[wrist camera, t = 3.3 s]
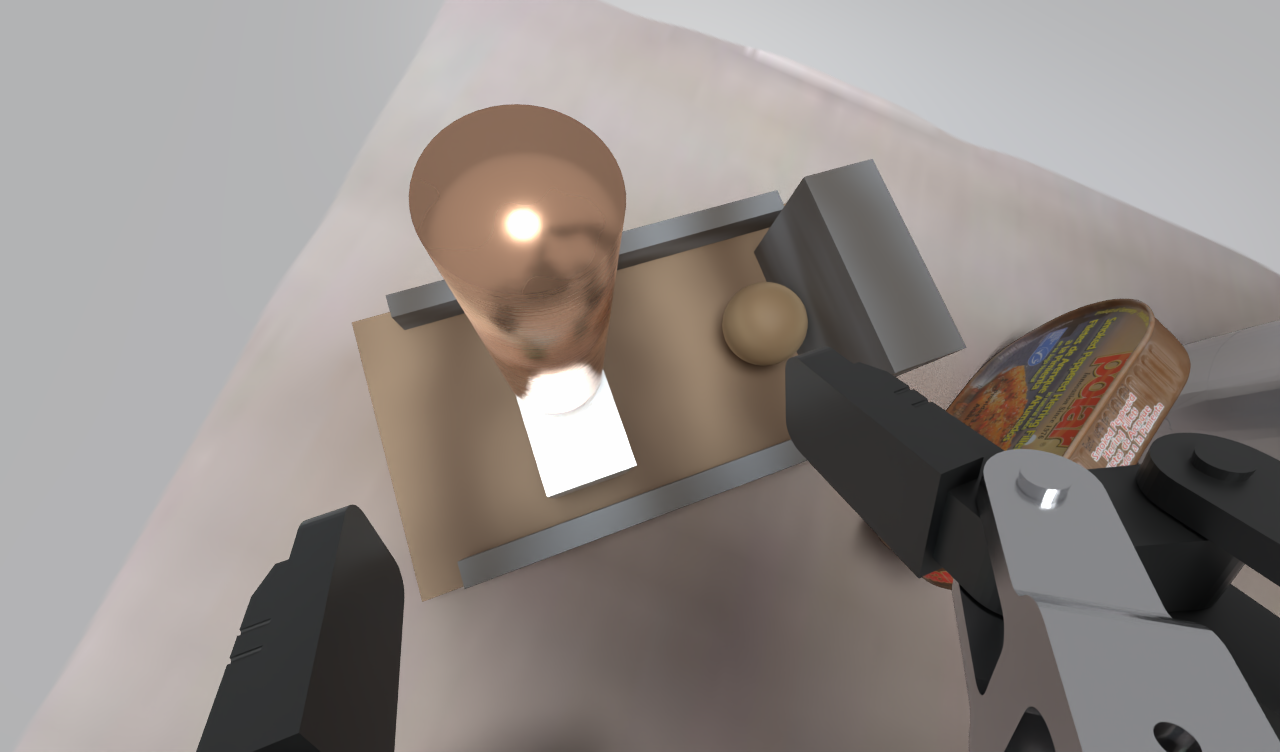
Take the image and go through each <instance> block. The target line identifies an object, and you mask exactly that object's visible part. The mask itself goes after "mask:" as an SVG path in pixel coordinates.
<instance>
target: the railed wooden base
mask: <svg viewBox="0 0 1280 752" xmlns="http://www.w3.org/2000/svg"><path fill="white" fill-rule="evenodd" d="M759 282H773V283H778V284H781V285H783V286H785V287H787V288H789V289H790V290H792V291H793V292H794V293H795V294H796V295H797V296H798V297H799V298H800V300H801V301H802V303H803V304H804V306H805V309H806V313H807V318H808V328H807V333H806V336H805V339H804V341H803V343H802V345H801V346H800V348H799V349H798V350H797V351H796V352H795V353H794V354H793V355H792V356H791V357H794V356H797V355H800V354H803V353H806V352H809V351H812V350H815V349H818V348H821V347H824V346H827V347H830V348H832V349H834V350H835V351H836V352H838V353H839V354H841V355H842V356H843V357H845V358H846V359H848V360H849V361H850V362H852V363H853V364H854V363H857V362H861V363H864V364H867V365H870V366H872V367H875V368H878V369H881V370H884V371H887V372H889V373H890V374H892V375H893V376H895V377H896V376H899V375H901V374H904V373H906V372H908V371H911V370H913V369H916V368H918V367H921V366H923V365H925V364H928V363H930V362H933V361H935V360H938V359H940V358H942V357H945V356H947V355H950V354H952V353H955V352H957V351H959V350H962V349H964V348H966V346H965V344H964V342H963V340H962V338H961V336H960V334H959V332H958V330H957V328H956V326H955V324H954V322H953V319H952V317H951V315H950V313H949V311H948V309H947V307H946V305H945V303H944V301H943V299H942V297H941V295H940V293H939V291H938V289H937V287H936V285H935V283H934V281H933V279H932V277H931V275H930V273H929V271H928V269H927V267H926V265H925V263H924V261H923V259H922V257H921V255H920V253H919V251H918V249H917V247H916V245H915V243H914V241H913V239H912V237H911V235H910V233H909V231H908V229H907V227H906V225H905V223H904V221H903V219H902V217H901V215H900V213H899V211H898V209H897V207H896V205H895V203H894V201H893V199H892V197H891V195H890V193H889V191H888V189H887V187H886V185H885V183H884V181H883V179H882V177H881V175H880V173H879V171H878V169H877V167H876V165H875V163H874V161H873V159H870V160H866V161H862V162H859V163H855V164H851V165H847V166H844V167H840V168H836V169H832V170H829V171H825V172H821V173H817V174H814V175H810V176H806V177H804V178H803V179H802V181H801V182H800V184H799V185H798V187H797V188H796V190H795V191H794V193H793V194H792V196H791V197H790V199H789V200H788V202H787V203H786V204H783V202H782V200H781V198H780V195H779V193H778V191H777V190H776V191H773V192H769V193H765V194H761V195H758V196H754V197H750V198H747V199H743V200H739V201H735V202H732V203H728V204H724V205H721V206H717V207H713V208H709V209H706V210H702V211H698V212H694V213H691V214H687V215H683V216H680V217H676V218H672V219H668V220H665V221H661V222H657V223H654V224H650V225H646V226H642V227H639V228H635V229H631V230H627V231H624V232H622V237H621V244H620V251H619V258H618V265H617V272H616V279H615V286H614V293H613V300H612V307H611V314H610V321H609V328H608V335H607V342H606V349H605V356H604V363H603V370H604V373H605V376H606V379H607V382H608V385H609V388H610V390H611V393H612V396H613V399H614V402H615V405H616V408H617V411H618V413H619V416H620V419H621V422H622V425H623V428H624V431H625V434H626V436H627V439H628V442H629V445H630V448H631V451H632V454H633V457H634V459H635V462H636V466H635V467H633V468H632V469H631V470H629V471H628V472H627V473H625V474H624V475H621V476H618V477H615V478H612V479H609V480H607V481H604V482H601V483H598V484H595V485H593V486H590V487H587V488H584V489H581V490H579V491H576V492H573V493H570V494H567V495H565V496H562V497H559V498H556V499H555V498H550V497H547V494H546V491H545V488H544V484H543V481H542V478H541V475H540V471H539V468H538V465H537V462H536V459H535V455H534V452H533V449H532V446H531V442H530V439H529V436H528V433H527V429H526V426H525V423H524V420H523V417H522V413H521V410H520V407H519V404H518V400H517V397H516V395H515V393H514V392H513V390H512V389H511V387H510V385H509V384H508V382H507V381H506V379H505V377H504V376H503V374H502V372H501V371H500V369H499V368H498V366H497V364H496V363H495V361H494V359H493V358H492V356H491V355H490V353H489V351H488V350H487V348H486V346H485V345H484V343H483V342H482V340H481V338H480V337H479V335H478V333H477V332H476V330H475V329H474V327H473V325H472V324H471V322H470V320H469V319H468V317H467V316H466V314H465V312H464V311H463V309H462V307H461V306H460V304H459V303H458V301H457V299H456V298H455V296H454V294H453V293H452V291H451V290H450V288H449V286H448V285H447V283H446V281H445V280H441V281H438V282H434V283H430V284H426V285H423V286H419V287H415V288H411V289H408V290H404V291H400V292H397V293H393V294H389V295H386V298H387V302H388V306H389V310H390V312H388V313H385V314H381V315H377V316H374V317H370V318H367V319H363V320H359V321H356V322H352V325H353V329H354V333H355V337H356V341H357V345H358V349H359V353H360V357H361V361H362V365H363V369H364V373H365V377H366V381H367V385H368V389H369V393H370V396H371V400H372V404H373V408H374V412H375V416H376V420H377V424H378V428H379V432H380V436H381V440H382V444H383V448H384V452H385V456H386V460H387V464H388V468H389V472H390V476H391V480H392V484H393V488H394V492H395V496H396V500H397V504H398V508H399V512H400V516H401V520H402V524H403V527H404V531H405V535H406V539H407V543H408V547H409V551H410V555H411V559H412V563H413V567H414V571H415V575H416V579H417V583H418V587H419V591H420V595H421V599H422V602H423V601H426V600H429V599H431V598H434V597H437V596H439V595H442V594H445V593H447V592H450V591H453V590H455V589H458V588H461V587H463V586H464V589H466V588H469V587H471V586H474V585H477V584H479V583H482V582H485V581H487V580H490V579H493V578H495V577H498V576H501V575H503V574H506V573H509V572H511V571H514V570H517V569H519V568H522V567H525V566H527V565H530V564H532V563H535V562H538V561H540V560H543V559H546V558H548V557H551V556H554V555H556V554H559V553H562V552H564V551H567V550H570V549H572V548H575V547H578V546H580V545H583V544H586V543H588V542H591V541H594V540H596V539H599V538H602V537H604V536H607V535H610V534H612V533H615V532H618V531H620V530H623V529H626V528H628V527H631V526H634V525H636V524H639V523H642V522H644V521H647V520H650V519H652V518H655V517H658V516H660V515H663V514H666V513H668V512H671V511H674V510H676V509H679V508H682V507H684V506H687V505H690V504H692V503H695V502H698V501H700V500H703V499H706V498H708V497H711V496H713V495H716V494H719V493H721V492H724V491H727V490H729V489H732V488H735V487H737V486H740V485H743V484H745V483H748V482H751V481H753V480H756V479H759V478H761V477H764V476H767V475H769V474H772V473H775V472H777V471H780V470H783V469H785V468H788V467H791V466H793V465H796V464H799V463H801V462H804V461H807V459H806V458H805V457H804V456H803V455H802V454H801V453H800V452H799V451H798V449H797V448H796V447H795V445H794V444H793V442H792V440H791V438H790V435H789V433H788V430H787V425H786V397H785V366H786V362H787V360H788V359H789V358H788V359H786V360H785V361H783V362H780V363H777V364H774V365H767V366H761V365H755V364H751V363H748V362H746V361H744V360H742V359H740V358H739V357H738V356H736V355H735V354H734V353H733V352H732V350H731V349H730V348H729V346H728V345H727V343H726V341H725V338H724V334H723V329H722V321H723V315H724V311H725V309H726V307H727V305H728V303H729V301H730V300H731V299H732V297H733V296H734V295H735V294H736V293H737V292H739V291H740V290H741V289H743V288H745V287H747V286H749V285H751V284H755V283H759ZM791 357H790V358H791Z"/></svg>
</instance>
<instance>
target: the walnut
mask: <svg viewBox="0 0 1280 752" xmlns="http://www.w3.org/2000/svg"><path fill="white" fill-rule="evenodd" d="M807 328H808V318H807V313H806V309H805V306H804V304H803V303H802V301H801V300H800V298H799V297H798V296H797V295H796V294H795V293H794V292H793V291H792V290H790V289H789V288H787V287H785V286H783V285H781V284H778V283H773V282H759V283H755V284H751V285H749V286H747V287H745V288H743V289H741V290H740V291H739V292H737V293H736V294H735V295H734V296H733V297H732V299H731V300H730V301H729V303H728V305H727V307H726V309H725V311H724V315H723V321H722V329H723V334H724V338H725V341H726V343H727V345H728V346H729V348H730V349H731V350H732V352H733V353H734V354H735V355H736V356H738V357H739V358H740V359H742V360H744V361H746V362H748V363H751V364H755V365H761V366H767V365H774V364H777V363H780V362H783V361H785V360H786V359H788V358H790V357H791V356H792V355H793V354H794V353H795V352H796V351H797V350H798V349H799V348H800V346H801V345H802V343H803V341H804V339H805V336H806V333H807Z"/></svg>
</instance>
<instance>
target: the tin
mask: <svg viewBox="0 0 1280 752" xmlns="http://www.w3.org/2000/svg"><path fill="white" fill-rule="evenodd" d="M1190 368H1191V363H1190V358H1189V355H1188V353H1187V351H1186V349H1185V348H1184V347H1183V345H1182V344H1181V343H1180V342H1179V341H1178V340H1177V339H1176V337H1175V336H1174V335H1173V334H1172V333H1171V332H1170V331H1169V330H1167V329H1166V328H1165V327H1164V326H1163V325H1162V324H1161V323H1160V322H1159V321H1158V320H1157V319H1156V318H1155V317H1154V314H1153V312H1152V310H1151V309H1150V307H1149V306H1148V305H1146V304H1145V303H1143V302H1141V301H1139V300H1134V299H1112V300H1106V301H1102V302H1097V303H1094V304H1090V305H1087V306H1084V307H1080V308H1078V309H1076V310H1073V311H1070V312H1068V313H1066V314H1063V315H1061V316H1059V317H1057V318H1055V319H1053V320H1051V321H1049V322H1047V323H1045V324H1043V325H1041V326H1040V327H1038V328H1036V329H1034V330H1032V331H1031V332H1029V333H1027V334H1026V335H1024V336H1023V337H1021V338H1019V339H1018V340H1016V341H1015V342H1013V343H1011V344H1010V345H1008V346H1007V347H1006V348H1004V349H1003V350H1002V351H1000V352H999V353H998V354H997V355H995V356H994V357H993V358H992V359H991V360H989V361H988V362H987V363H986V364H985V365H984V366H983V367H982V368H981V369H980V370H979V371H978V372H977V373H976V374H975V375H974V376H973V378H972V379H971V380H970V381H969V382H968V384H967V385H966V386H965V387H964V389H963V390H962V391H961V392H960V394H959V395H958V396H957V398H956V399H955V400H954V401H953V403H952V404H951V405H950V407H949V408H948V409H947V410H946V412H948V413H949V414H951V415H952V416H954V417H955V418H957V419H958V420H960V421H961V422H963V423H964V424H966V425H967V426H969V427H970V428H972V429H973V430H975V431H976V432H978V433H979V434H981V435H982V436H983V437H985V438H986V439H988V440H989V441H991V442H992V443H994V444H995V445H997V446H998V447H1000V448H1001V449H1003V450H1005V451H1007V450H1013V449H1032V450H1040V451H1044V452H1049V453H1053V454H1056V455H1059V456H1062V457H1064V458H1067V459H1069V460H1071V461H1073V462H1075V463H1077V464H1079V465H1081V466H1082V467H1084V468H1085V469H1096V468H1106V467H1117V466H1127V465H1136V464H1137V463H1138V461H1139V459H1140V458H1141V456H1142V454H1143V453H1144V451H1145V449H1146V448H1147V446H1148V445H1149V443H1150V442H1151V440H1152V438H1153V437H1154V435H1155V434H1156V432H1157V430H1158V429H1159V427H1160V426H1161V424H1162V422H1163V421H1164V419H1165V418H1166V416H1167V415H1168V413H1169V411H1170V409H1171V408H1172V406H1173V405H1174V403H1175V402H1176V400H1177V399H1178V397H1179V395H1180V393H1181V392H1182V390H1183V388H1184V386H1185V385H1186V383H1187V380H1188V378H1189V374H1190ZM879 538H880V537H879ZM880 540H881V541H882V542H883V543H884V544H885V545H886V546H887V547H888V548H890V547H889V546H888V545H887V544H886V543H885V542H884V541H883V540H882V539H881V538H880ZM890 549H891V548H890ZM891 550H892V549H891ZM922 578H924V579H925V580H926V581H928V582H930V583H931V584H933V585H936V586H938V587H941V588H945V589H949V590H952V583H953V579H954V578H953V577H952V576H951V575H950V574H949V573H948V572H947V571H946V570H945V569H944V568H941V569H939V570H936V571H934V572H932V573H930V574H927V575H925V576H923V577H922Z"/></svg>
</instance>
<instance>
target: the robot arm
mask: <svg viewBox="0 0 1280 752" xmlns="http://www.w3.org/2000/svg"><path fill="white" fill-rule="evenodd" d="M1183 347H1184V348H1185V349H1186V351H1187V353H1188V355H1189V358H1190V363H1191V368H1190V374H1189V378H1188V380H1187V383H1186V385H1185V386H1184V388H1183V390H1182V392H1181V393H1180V395H1179V397H1178V399H1177V400H1176V402H1175V403H1174V405H1173V406H1172V408H1171V409H1170V411H1169V413H1168V415H1167V416H1166V418H1165V419H1164V421H1163V422H1162V424H1161V426H1160V427H1159V429H1158V430H1157V432H1156V434H1155V435H1154V437H1153V438H1152V440H1151V442H1150V443H1149V445H1148V446H1147V448H1146V449H1145V451H1144V453H1143V454H1142V456H1141V458H1140V459H1139V461H1138V463H1139V464H1138V465H1127V466H1117V467H1106V468H1096V469H1085V468H1084V467H1082V466H1081V465H1079V464H1077V463H1075V462H1073V461H1071V460H1069V459H1067V458H1064V457H1062V456H1059V455H1056V454H1053V453H1049V452H1044V451H1040V450H1032V449H1013V450H1007V451H1005V450H1003V449H1001V448H1000V447H998V446H997V445H995V444H994V443H992V442H991V441H989V440H988V439H986V438H985V437H983V436H982V435H981V434H979V433H978V432H976V431H975V430H973V429H972V428H970V427H969V426H967V425H966V424H964V423H963V422H961V421H960V420H958V419H957V418H955V417H954V416H952V415H951V414H949V413H948V412H946V411H945V410H943V409H942V408H941V407H939V406H938V405H936V404H935V403H933V402H930V403H929V402H928V400H927V398H926V397H924V396H923V395H921V394H920V393H918V392H917V391H915V390H914V389H913V390H910V389H909V386H908V385H906V384H905V383H903V382H902V381H900V380H899V379H898V378H896V377H895V376H893V375H892V374H890V373H889V372H887V371H884V370H881V369H878V368H875V367H872V366H870V365H867V364H864V363H861V362H857V363H854V364H853V363H852V362H850V361H849V360H848V359H846V358H845V357H843V356H842V355H841V354H839V353H838V352H836V351H835V350H834V349H832V348H830V347H827V346H824V347H821V348H818V349H815V350H812V351H809V352H806V353H803V354H800V355H797V356H794V357H791V358H789V359H788V360H787V362H786V366H785V397H786V425H787V430H788V433H789V435H790V438H791V440H792V442H793V444H794V445H795V447H796V448H797V449H798V451H799V452H800V453H801V454H802V455H803V456H804V457H805V458H806V459H807V460H808V461H809V462H810V463H811V465H812V466H813V467H814V468H815V469H816V470H817V471H818V472H819V473H820V474H821V475H822V476H823V477H824V478H825V479H826V480H827V482H828V483H829V484H830V485H831V486H832V487H833V488H834V489H835V490H836V491H837V492H838V493H839V494H840V495H841V496H842V497H843V498H844V500H845V501H846V502H847V503H848V504H849V505H850V506H851V507H852V508H853V509H854V510H855V511H856V512H857V513H858V514H859V515H860V517H861V518H862V519H863V520H864V521H865V522H866V523H867V524H868V525H869V526H870V527H871V528H872V529H873V530H874V531H875V532H876V534H877V535H878V536H879V537H880V538H881V539H882V540H883V541H884V542H885V543H886V544H887V545H888V546H889V547H890V548H891V549H892V550H893V552H894V553H895V554H896V555H897V556H898V557H899V558H900V559H901V560H902V561H903V562H904V563H905V564H906V565H907V566H908V567H909V569H910V570H911V571H912V572H913V573H914V574H915V575H916V576H917V577H918V578H921V577H923V576H925V575H927V574H930V573H932V572H934V571H936V570H939V569H941V568H944V569H945V570H946V571H947V572H948V573H949V574H950V575H951V576H952V577H953V578H954V579H953V583H952V596H953V602H954V608H955V615H956V621H957V627H958V634H959V640H960V646H961V653H962V659H963V665H964V671H965V678H966V684H967V690H968V697H969V705H970V728H969V752H1280V618H1279V617H1278V616H1276V615H1275V614H1273V613H1272V612H1270V611H1269V610H1268V609H1266V608H1265V607H1263V606H1262V605H1260V604H1259V603H1257V602H1256V601H1255V600H1253V599H1252V598H1250V597H1249V596H1247V595H1246V594H1244V593H1243V592H1242V591H1240V590H1239V589H1237V588H1236V587H1234V586H1233V585H1231V584H1230V583H1231V582H1232V581H1233V579H1234V578H1235V577H1236V575H1237V574H1238V573H1239V571H1240V570H1241V569H1242V567H1243V566H1244V565H1245V564H1246V565H1248V566H1249V567H1251V568H1252V569H1254V570H1255V571H1257V572H1258V573H1260V574H1261V575H1263V576H1264V577H1266V578H1268V579H1269V580H1271V581H1272V582H1274V583H1275V584H1277V585H1278V586H1280V320H1277V321H1273V322H1270V323H1266V324H1262V325H1258V326H1254V327H1250V328H1246V329H1242V330H1238V331H1235V332H1231V333H1227V334H1223V335H1220V336H1216V337H1212V338H1208V339H1205V340H1201V341H1197V342H1193V343H1190V344H1186V345H1183ZM403 610H404V585H403V580H402V576H401V573H400V570H399V567H398V565H397V563H396V561H395V559H394V558H393V556H392V555H391V553H390V552H389V550H388V549H387V547H386V546H385V544H384V543H383V541H382V540H381V538H380V537H379V535H378V534H377V532H376V531H375V529H374V528H373V526H372V525H371V523H370V522H369V520H368V519H367V517H366V516H365V514H364V513H363V512H362V510H361V509H360V508H359V507H357V506H356V505H349V506H346V507H343V508H340V509H338V510H335V511H332V512H329V513H326V514H323V515H320V516H317V517H314V518H311V519H308V520H305V521H303V522H302V523H301V525H300V526H299V529H298V531H297V535H296V538H295V541H294V545H293V548H292V551H291V554H290V558H289V560H286V561H283V562H280V563H277V564H275V565H274V567H273V568H272V569H271V571H270V572H269V573H268V575H267V576H266V578H265V579H264V580H263V582H262V583H261V584H260V586H259V587H258V588H257V590H256V591H255V592H254V594H253V595H252V597H251V599H250V602H249V605H248V608H247V610H246V613H245V616H244V619H243V622H242V624H241V627H240V631H241V635H239V636H237V639H236V641H235V644H234V647H233V650H232V653H231V655H230V659H231V664H228V665H227V667H226V669H225V672H224V675H223V678H222V681H221V684H220V686H219V689H218V692H217V695H216V698H215V700H214V703H213V706H212V709H211V712H210V714H209V717H208V720H207V723H206V726H205V729H204V731H203V734H202V737H201V740H200V743H199V745H198V748H197V751H196V752H394V747H395V732H396V717H397V702H398V686H399V671H400V656H401V641H402V625H403Z"/></svg>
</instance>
